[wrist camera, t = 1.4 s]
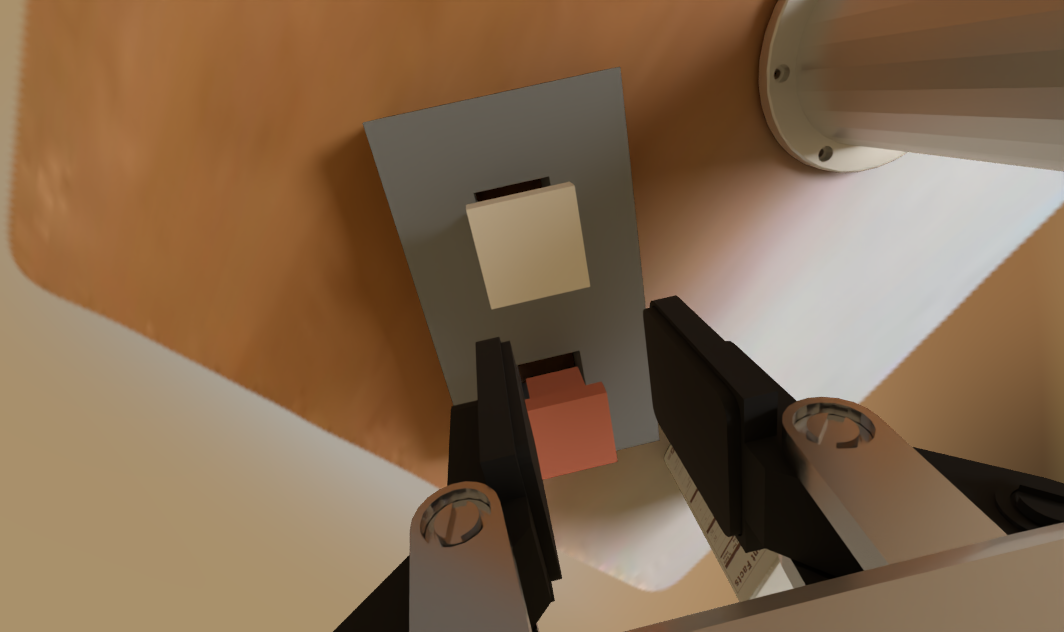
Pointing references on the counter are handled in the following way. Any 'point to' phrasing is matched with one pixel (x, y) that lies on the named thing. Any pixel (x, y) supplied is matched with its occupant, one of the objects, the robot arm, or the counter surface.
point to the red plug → (569, 423)
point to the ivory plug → (529, 244)
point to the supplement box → (730, 544)
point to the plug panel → (556, 157)
